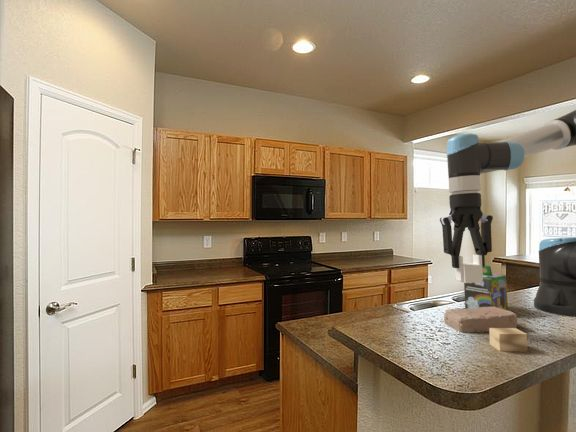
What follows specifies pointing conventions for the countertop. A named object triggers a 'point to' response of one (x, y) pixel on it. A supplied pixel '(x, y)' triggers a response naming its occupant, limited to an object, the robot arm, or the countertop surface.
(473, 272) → the beige cube
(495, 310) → the brick
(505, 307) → the chalk box
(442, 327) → the countertop surface
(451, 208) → the robot arm
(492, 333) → the oak block
